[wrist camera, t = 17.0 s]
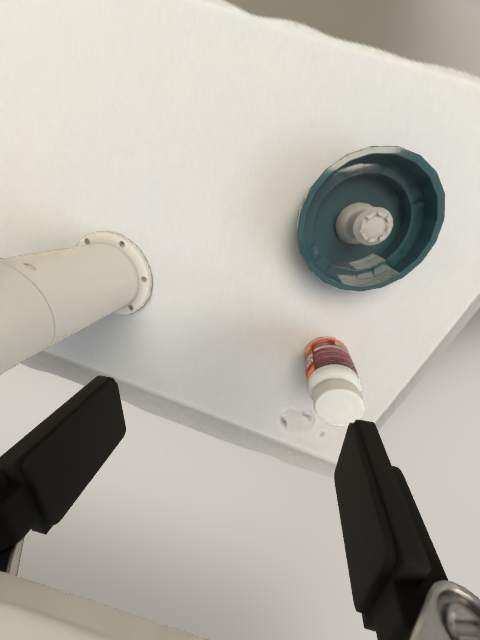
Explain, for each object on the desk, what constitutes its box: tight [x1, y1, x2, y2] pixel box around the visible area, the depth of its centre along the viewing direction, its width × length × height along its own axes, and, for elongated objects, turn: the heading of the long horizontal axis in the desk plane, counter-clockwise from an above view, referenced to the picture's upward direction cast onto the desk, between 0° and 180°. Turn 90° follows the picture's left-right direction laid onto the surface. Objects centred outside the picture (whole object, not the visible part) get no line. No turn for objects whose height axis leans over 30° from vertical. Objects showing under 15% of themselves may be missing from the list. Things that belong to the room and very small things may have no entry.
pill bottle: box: [305, 337, 365, 426], centre depth 32 cm, size 6×6×11 cm
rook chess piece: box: [336, 202, 393, 245], centre depth 25 cm, size 4×4×8 cm
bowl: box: [296, 146, 445, 291], centre depth 27 cm, size 13×13×6 cm
